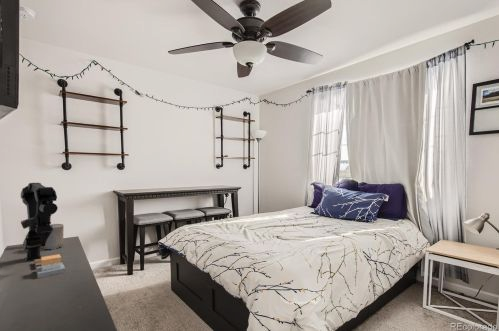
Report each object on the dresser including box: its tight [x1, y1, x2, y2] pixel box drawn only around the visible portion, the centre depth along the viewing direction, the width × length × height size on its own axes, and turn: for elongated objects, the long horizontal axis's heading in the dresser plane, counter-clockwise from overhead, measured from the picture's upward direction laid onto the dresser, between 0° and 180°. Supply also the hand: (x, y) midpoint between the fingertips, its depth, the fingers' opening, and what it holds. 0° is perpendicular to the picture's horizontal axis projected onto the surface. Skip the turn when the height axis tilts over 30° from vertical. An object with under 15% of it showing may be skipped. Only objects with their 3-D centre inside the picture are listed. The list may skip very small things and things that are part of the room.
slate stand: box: [35, 261, 66, 279], centre depth 120 cm, size 10×10×2 cm
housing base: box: [41, 261, 62, 271], centre depth 120 cm, size 7×6×2 cm
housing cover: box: [41, 253, 62, 266], centre depth 120 cm, size 7×6×2 cm
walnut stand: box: [34, 259, 41, 269], centre depth 129 cm, size 10×10×2 cm
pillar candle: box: [43, 223, 64, 250], centre depth 155 cm, size 10×10×15 cm
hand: (42, 242), depth 128 cm, fingers open, 9 cm apart
